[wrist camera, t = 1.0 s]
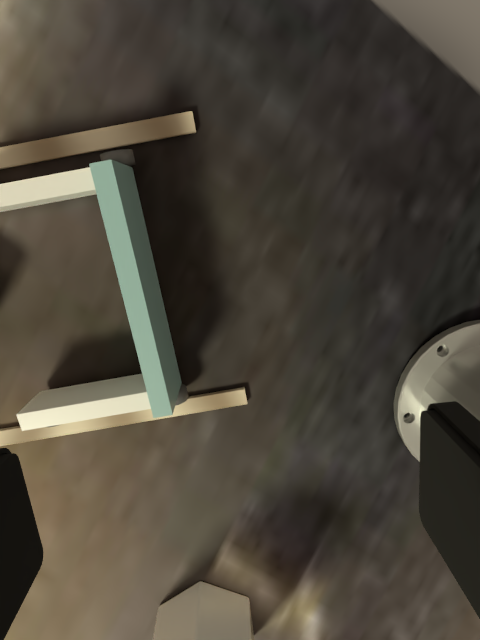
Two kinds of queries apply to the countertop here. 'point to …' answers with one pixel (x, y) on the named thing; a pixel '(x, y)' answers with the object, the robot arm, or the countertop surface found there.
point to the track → (87, 144)
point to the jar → (205, 615)
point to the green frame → (137, 290)
